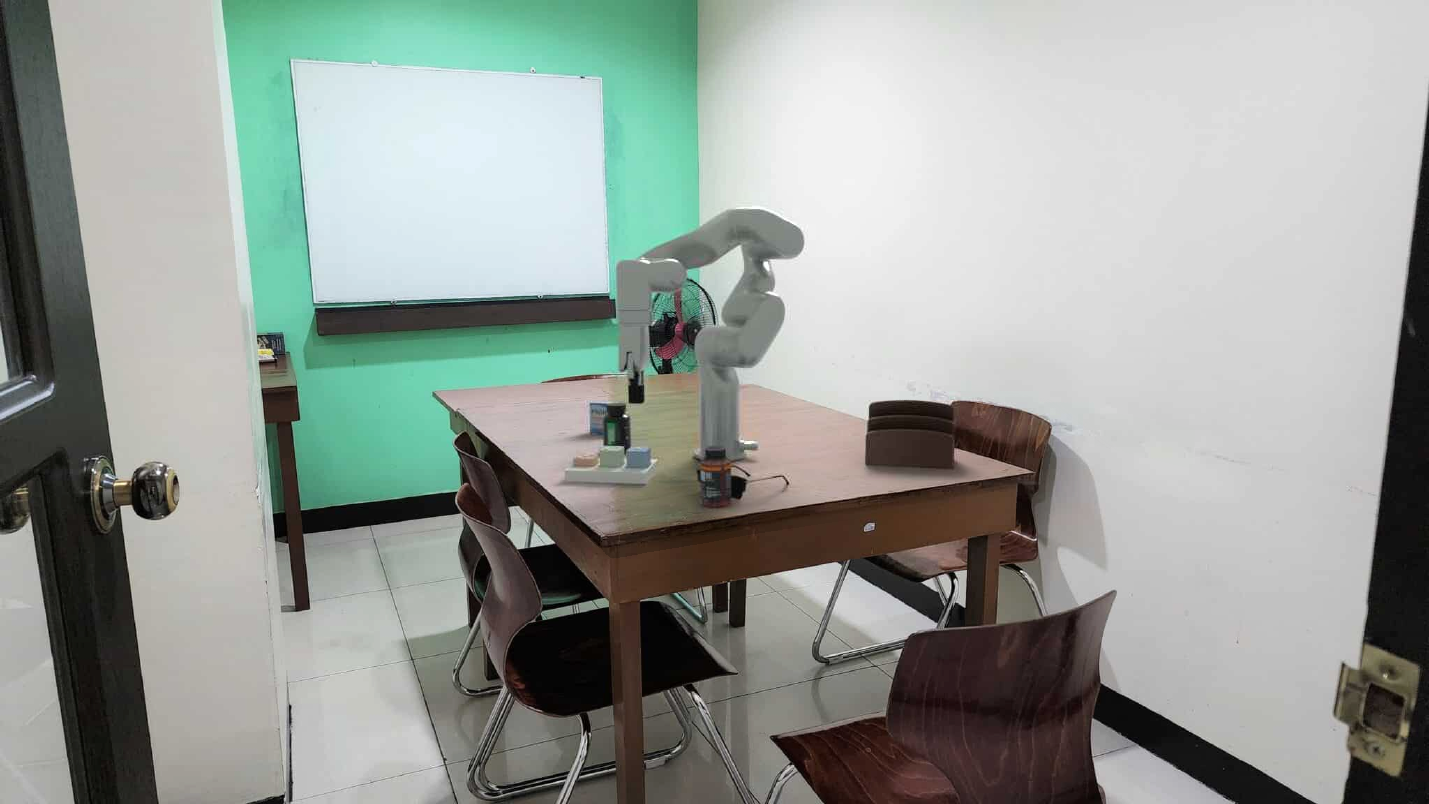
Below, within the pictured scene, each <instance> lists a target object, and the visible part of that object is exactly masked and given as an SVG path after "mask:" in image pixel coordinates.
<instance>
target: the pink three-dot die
mask: <svg viewBox="0 0 1429 804" xmlns="http://www.w3.org/2000/svg"><path fill="white" fill-rule="evenodd" d="M598 458H599V454H595V453H578V454H577V455H576V456H574V457H573V461H572V462H573V463H572V464H573V466H575V467H594V466H596V465H597V464H598V463H599V462H598Z"/></svg>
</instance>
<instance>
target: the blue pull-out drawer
mask: <svg viewBox="0 0 1429 804" xmlns="http://www.w3.org/2000/svg"><path fill="white" fill-rule="evenodd" d="M651 448H652V447H651V446H631V447H630V448H629V449H628V450H627V451H626V454H625V456H626V457H625V459H626V461H627V468H645V469H647V468H648V467H649V466H650V465H651V459H652V456H651V455H652V453H651V452H652V450H651Z"/></svg>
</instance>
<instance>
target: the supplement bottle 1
mask: <svg viewBox="0 0 1429 804" xmlns="http://www.w3.org/2000/svg"><path fill="white" fill-rule="evenodd" d="M606 409H607V410H606V412H607V415H605V416H604V418H603V434H602V438H603V439H602V440H603V441H602V442H603V444H602V445H603V447H604V446H624V455H626V451H627V450H628V449H629V448H630V447H632V431H631V430H632V425H631V422H632V421H631V417H630V416H629V414H627V403H625V402H622V403H609V404H607V405H606Z"/></svg>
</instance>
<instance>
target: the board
mask: <svg viewBox="0 0 1429 804" xmlns="http://www.w3.org/2000/svg"><path fill="white" fill-rule="evenodd" d="M624 460H625V464H624V465H623V466H622V467H621V468H610V467H600V457H598V462H599V463H598V464H597V465H596V466H594V467H575V466H573V463H572V464H571V465H569V466H568V467H567V468H565V470H564V482H573V483H574V482H575V483H600V484H601V483H602V484H604V483H605V484H632V485H635V484H636V485H647V484H648V483H649V481H650V480H652V478H653V477H654V476H655V475H656V474H657V473H658V471H659V459H658V458H656V459H654V458H651V465H650V466H649V467H648V468H647V469H645V468H627V461H626V458H624Z"/></svg>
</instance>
